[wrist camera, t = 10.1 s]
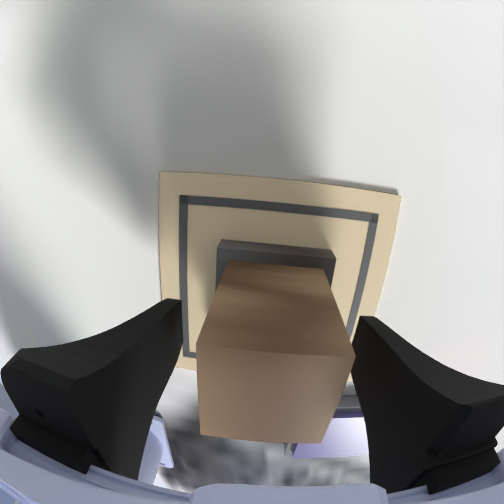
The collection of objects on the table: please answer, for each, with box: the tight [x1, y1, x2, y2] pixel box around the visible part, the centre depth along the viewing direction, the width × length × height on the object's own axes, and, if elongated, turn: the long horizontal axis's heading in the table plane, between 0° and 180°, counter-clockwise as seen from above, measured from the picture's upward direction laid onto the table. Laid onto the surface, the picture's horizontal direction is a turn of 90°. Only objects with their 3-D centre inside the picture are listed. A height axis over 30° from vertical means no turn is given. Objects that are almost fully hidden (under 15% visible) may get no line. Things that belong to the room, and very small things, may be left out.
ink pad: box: [284, 396, 369, 458], centre depth 17 cm, size 8×6×2 cm
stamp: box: [196, 239, 356, 444], centre depth 11 cm, size 5×5×7 cm
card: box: [159, 172, 401, 382], centre depth 14 cm, size 11×11×1 cm
